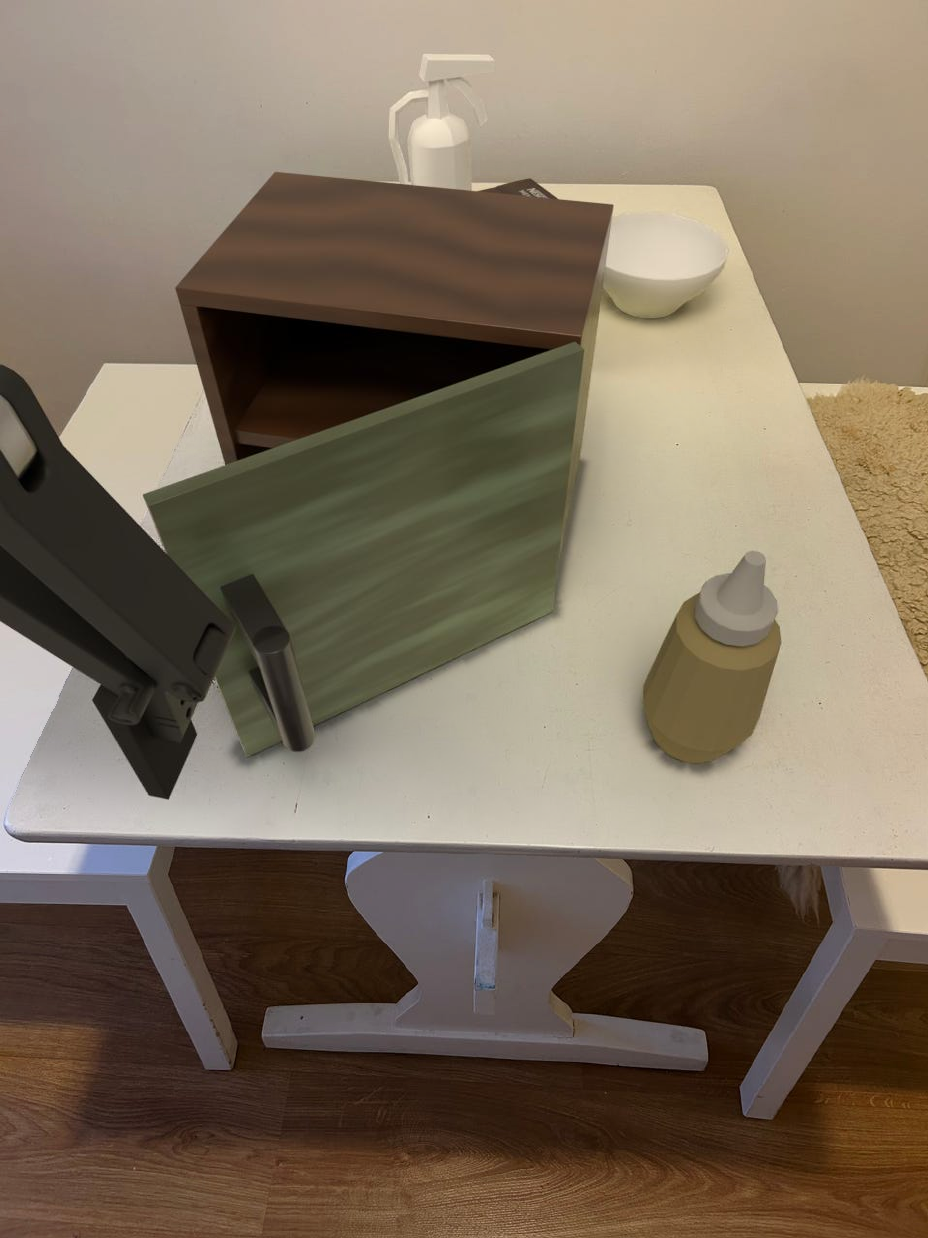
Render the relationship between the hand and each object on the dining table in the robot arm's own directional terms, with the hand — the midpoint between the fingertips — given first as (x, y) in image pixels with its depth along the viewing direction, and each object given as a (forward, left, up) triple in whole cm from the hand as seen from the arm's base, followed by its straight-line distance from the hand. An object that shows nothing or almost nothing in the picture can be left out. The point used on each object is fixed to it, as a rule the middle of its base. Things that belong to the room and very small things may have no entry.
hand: (0, 730), depth 31 cm
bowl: (+21, +82, -26) cm, 89 cm away
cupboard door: (+10, +21, -25) cm, 34 cm away
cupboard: (+4, +42, -26) cm, 49 cm away
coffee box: (+8, +69, -26) cm, 74 cm away
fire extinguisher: (-3, +77, -26) cm, 81 cm away
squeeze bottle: (+29, +23, -26) cm, 45 cm away
